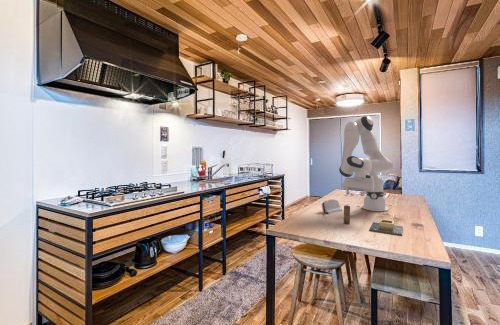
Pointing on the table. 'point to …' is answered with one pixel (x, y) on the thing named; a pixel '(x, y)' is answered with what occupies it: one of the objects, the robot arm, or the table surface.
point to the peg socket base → (386, 227)
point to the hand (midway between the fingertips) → (354, 194)
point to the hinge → (331, 206)
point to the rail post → (346, 214)
